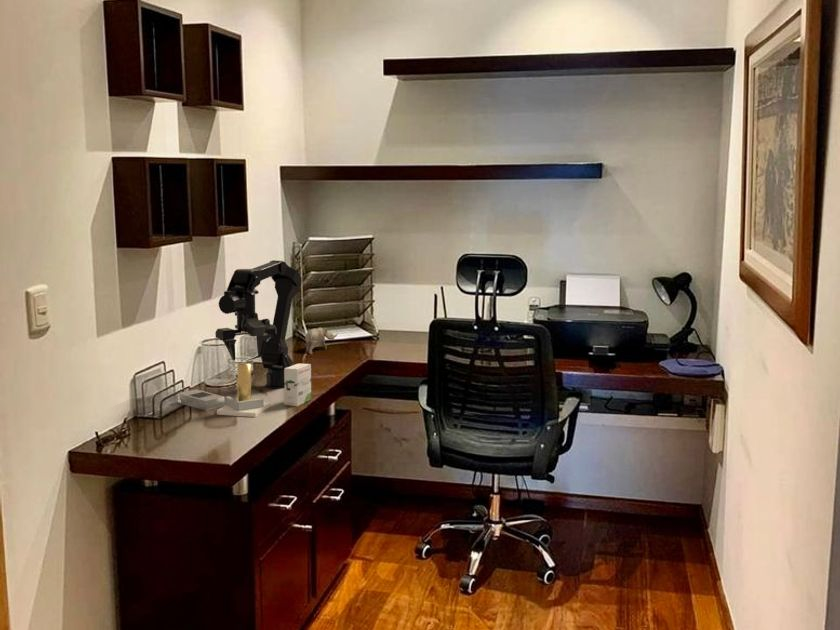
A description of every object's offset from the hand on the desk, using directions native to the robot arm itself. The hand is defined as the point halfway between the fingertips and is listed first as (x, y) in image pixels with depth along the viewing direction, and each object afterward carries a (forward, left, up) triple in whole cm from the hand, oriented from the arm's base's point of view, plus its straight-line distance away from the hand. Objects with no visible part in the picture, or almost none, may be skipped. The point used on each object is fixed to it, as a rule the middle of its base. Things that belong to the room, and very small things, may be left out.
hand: (246, 358), depth 264 cm
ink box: (-10, +14, -13) cm, 22 cm away
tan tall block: (+8, +12, -12) cm, 18 cm away
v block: (+8, +12, -13) cm, 19 cm away
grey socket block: (+15, -2, -13) cm, 20 cm away
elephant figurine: (-61, -52, -13) cm, 81 cm away
